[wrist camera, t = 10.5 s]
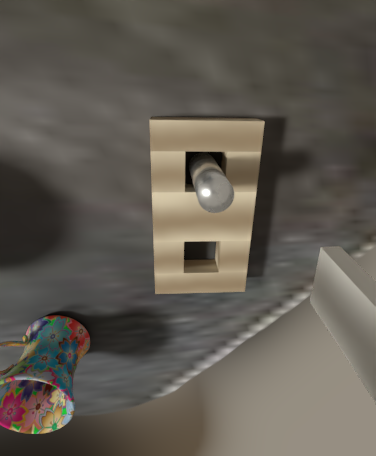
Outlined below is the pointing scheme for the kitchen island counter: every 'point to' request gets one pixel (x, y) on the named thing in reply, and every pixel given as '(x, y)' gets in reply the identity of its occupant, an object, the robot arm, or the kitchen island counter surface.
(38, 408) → the mug
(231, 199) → the peg
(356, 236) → the kitchen island counter surface
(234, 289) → the hole block
